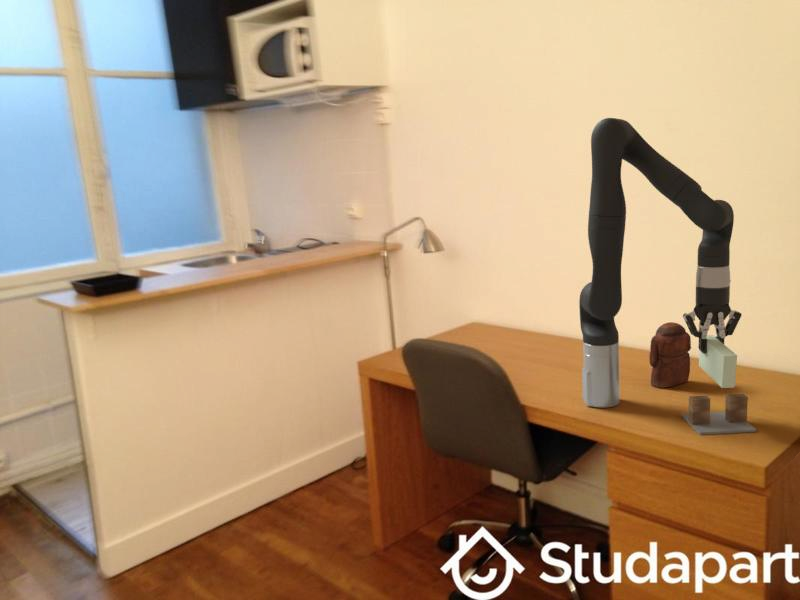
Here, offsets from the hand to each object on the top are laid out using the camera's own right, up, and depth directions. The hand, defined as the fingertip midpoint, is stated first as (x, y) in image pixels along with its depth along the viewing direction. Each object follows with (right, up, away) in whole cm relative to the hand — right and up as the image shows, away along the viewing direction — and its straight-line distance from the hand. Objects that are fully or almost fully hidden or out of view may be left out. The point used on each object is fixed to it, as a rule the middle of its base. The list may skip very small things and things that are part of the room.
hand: (711, 352), depth 171 cm
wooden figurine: (+1, -11, +29) cm, 31 cm away
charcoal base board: (+1, -17, -1) cm, 18 cm away
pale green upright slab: (0, -6, -2) cm, 6 cm away
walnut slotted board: (+1, -17, -1) cm, 18 cm away
